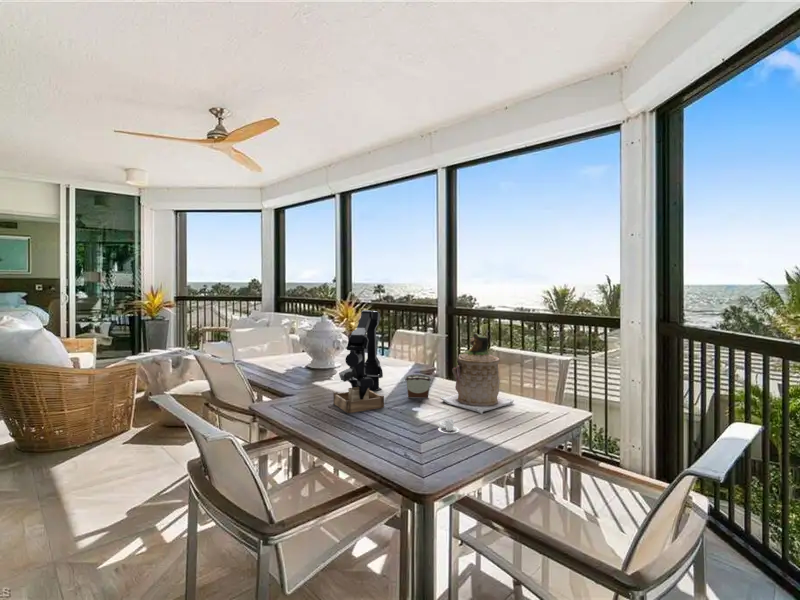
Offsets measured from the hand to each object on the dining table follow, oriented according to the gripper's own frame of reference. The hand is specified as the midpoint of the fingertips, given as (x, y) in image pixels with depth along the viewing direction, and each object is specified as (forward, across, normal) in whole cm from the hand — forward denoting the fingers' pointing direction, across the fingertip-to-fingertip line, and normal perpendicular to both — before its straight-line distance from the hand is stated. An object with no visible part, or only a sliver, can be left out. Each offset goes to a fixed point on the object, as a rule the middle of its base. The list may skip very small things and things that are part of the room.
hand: (358, 397), depth 195 cm
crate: (+4, 0, 0) cm, 4 cm away
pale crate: (+1, 0, 0) cm, 1 cm away
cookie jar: (+4, +22, +48) cm, 53 cm away
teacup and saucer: (+4, +43, +20) cm, 47 cm away
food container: (+4, 0, +31) cm, 31 cm away
